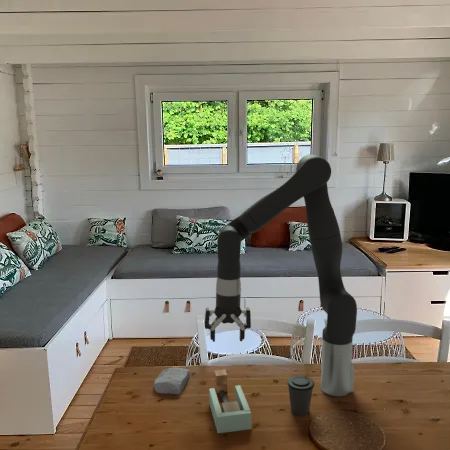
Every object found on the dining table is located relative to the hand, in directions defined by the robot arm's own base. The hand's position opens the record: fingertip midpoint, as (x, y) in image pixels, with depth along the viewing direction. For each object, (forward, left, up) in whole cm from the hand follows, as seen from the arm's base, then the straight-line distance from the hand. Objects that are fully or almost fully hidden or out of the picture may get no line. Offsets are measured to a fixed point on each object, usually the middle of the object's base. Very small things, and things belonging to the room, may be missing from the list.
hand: (227, 340), depth 149 cm
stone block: (+17, -8, -18) cm, 26 cm away
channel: (+2, +13, -17) cm, 22 cm away
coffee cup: (-19, +15, -18) cm, 30 cm away
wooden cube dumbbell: (+2, +8, -17) cm, 19 cm away
